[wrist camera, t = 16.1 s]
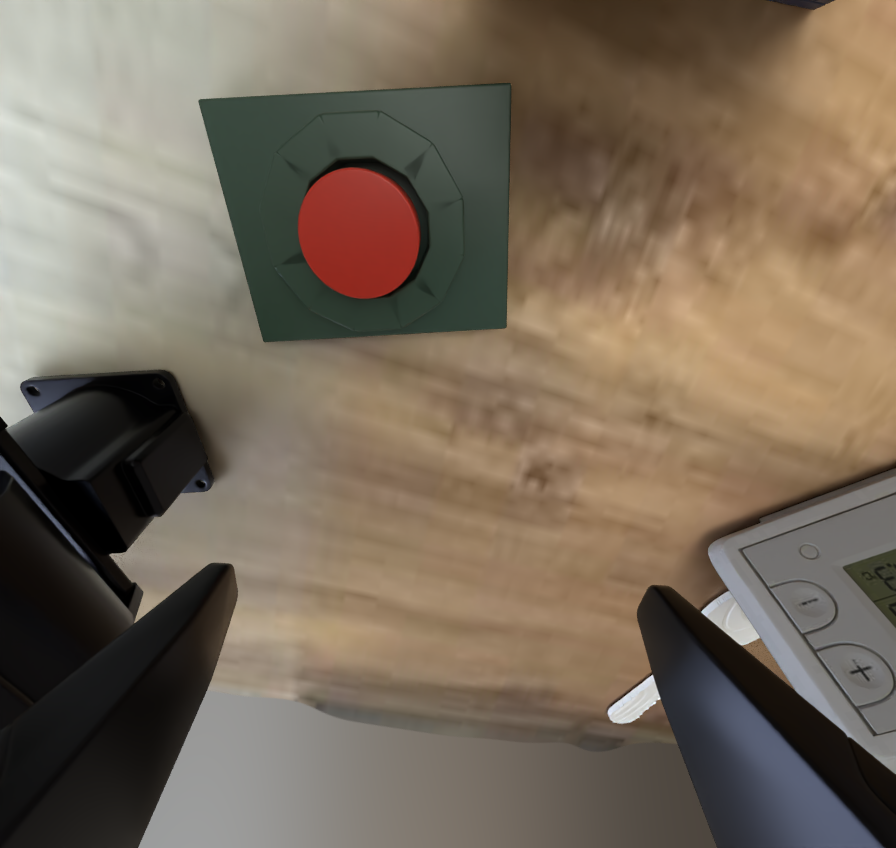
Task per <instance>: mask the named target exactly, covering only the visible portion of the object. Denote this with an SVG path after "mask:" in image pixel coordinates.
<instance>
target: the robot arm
mask: <svg viewBox="0 0 896 848" xmlns="http://www.w3.org/2000/svg"><path fill="white" fill-rule="evenodd" d="M158 379H161V380H162V381H163V382H164V383H165V385H162V384H160V383H159V381H158ZM35 387H36V388H37V389H38V390H39V391H37V390H36V389H35ZM20 388H21V391H22V393H23V395H24V396H25V398H26V400H27V401H28V403H29V405H30V406H31V408H32V410H33V412H34V414H32V415H30V416H28V417H27V418H25V419H23V420H21V421H20V422H18V423H16V424H14V425H13V426H11V427H9V428H7V429H5V428H6V427H7V426H8V425H7V424H6V423H5V422H4V421H3V419H2V418H1V417H0V848H138V847H139V844H140V842H141V840H142V837H143V835H144V833H145V830H146V828H147V826H148V824H149V822H150V819H151V817H152V815H153V812H154V810H155V808H156V805H157V803H158V801H159V799H160V796H161V794H162V792H163V790H164V787H165V785H166V783H167V780H168V778H169V776H170V774H171V771H172V769H173V767H174V764H175V762H176V760H177V758H178V755H179V753H180V751H181V748H182V746H183V744H184V741H185V739H186V737H187V734H188V732H189V730H190V728H191V726H192V723H193V721H194V719H195V716H196V714H197V712H198V710H199V707H200V705H201V703H202V700H203V698H204V696H205V694H206V691H207V689H208V686H209V684H210V681H211V679H212V676H213V673H214V670H215V667H216V664H217V661H218V658H219V655H220V652H221V649H222V646H223V643H224V639H225V636H226V633H227V630H228V627H229V624H230V621H231V618H232V614H233V611H234V608H235V605H236V602H237V597H238V588H237V583H236V577H235V571H234V567H233V565H232V564H229V563H211V564H209V565H207V566H206V567H205V568H203V569H202V570H201V571H200V572H198V573H197V574H196V575H195V576H193V577H192V578H191V579H190V580H188V581H187V582H186V583H185V584H183V585H182V586H181V587H180V588H178V589H177V590H176V591H175V592H173V593H172V594H171V595H170V596H168V597H167V598H166V599H165V600H163V601H162V602H161V603H160V604H158V605H157V606H156V607H155V608H153V609H152V610H151V611H150V612H148V613H147V614H146V615H144V616H143V617H142V618H141V619H139V620H138V621H137V622H136V623H134V621H135V618H136V615H137V612H138V609H139V606H140V602H141V599H142V596H143V591H142V590H141V589H140V587H139V586H138V585H137V584H136V583H132V582H131V581H130V580H129V579H128V577H127V576H126V575H125V574H124V573H123V571H122V570H121V569H120V568H119V566H118V565H117V564H116V563H115V562H114V560H113V559H112V558H111V557H110V555H109V554H111V553H123V552H126V551H127V550H128V548H129V547H130V546H131V545H132V544H133V543H134V541H135V540H136V539H137V538H138V537H139V535H140V534H141V533H142V532H143V531H144V529H145V528H146V527H147V526H148V525H149V523H150V522H151V521H152V520H153V519H154V517H161V516H162V515H163V514H164V513H165V512H166V511H167V509H168V508H169V507H170V506H171V504H172V503H173V502H174V501H175V499H176V498H177V497H178V496H179V495H180V493H190V492H205V491H208V490H209V489H210V488H211V487H212V485H213V484H214V482H215V481H214V477H213V475H212V472H211V469H210V467H209V464H208V462H207V460H208V458H207V455H206V453H205V450H204V448H203V445H202V443H201V440H200V438H199V435H198V433H197V430H196V427H195V425H194V422H193V420H192V417H191V416H190V415H189V414H188V411H187V409H186V406H185V404H184V401H183V399H182V396H181V394H180V391H179V388H178V386H177V383H176V381H175V379H174V377H173V376H172V375H171V374H170V373H169V372H167V371H165V370H147V371H130V372H113V373H96V374H78V375H61V376H44V377H33V378H30V379H28V380H26V381H24V382H22V383H21V386H20ZM200 480H202V481H204V482H205V483H203V482H201V481H200ZM637 619H638V623H639V627H640V630H641V634H642V637H643V641H644V645H645V648H646V652H647V655H648V659H649V663H650V666H651V670H652V673H653V677H654V680H655V684H656V687H657V690H658V693H659V696H660V698H661V701H662V704H663V707H664V709H665V712H666V715H667V717H668V720H669V722H670V725H671V728H672V730H673V733H674V736H675V738H676V741H677V743H678V746H679V749H680V751H681V754H682V757H683V759H684V762H685V764H686V767H687V769H688V772H689V775H690V778H691V780H692V783H693V785H694V788H695V791H696V793H697V796H698V799H699V801H700V804H701V806H702V809H703V812H704V814H705V817H706V820H707V822H708V825H709V828H710V830H711V833H712V835H713V838H714V841H715V843H716V846H717V848H896V774H895V773H893V772H892V771H891V770H890V769H889V768H887V767H886V766H885V765H884V764H882V763H881V762H880V761H879V760H878V759H876V758H875V757H874V756H873V755H871V754H870V753H869V752H868V751H867V750H865V749H864V748H863V747H862V746H861V745H860V744H858V743H857V742H856V741H855V740H854V739H852V738H851V737H847V735H846V733H845V732H844V731H843V730H841V729H840V728H839V727H838V726H837V725H835V724H834V723H833V722H832V721H831V720H829V719H828V718H827V717H826V716H825V715H823V714H822V713H821V712H820V711H819V710H817V709H816V708H815V707H814V706H813V705H811V704H810V703H809V702H808V701H807V700H805V699H804V698H803V697H802V696H801V695H799V694H798V693H797V692H796V691H795V690H794V689H792V688H791V687H790V686H789V685H788V684H786V683H785V682H784V681H783V680H782V679H780V678H779V677H778V676H777V675H776V674H774V673H773V672H772V671H771V670H770V669H768V668H767V667H766V666H765V665H764V664H762V663H761V662H760V661H759V660H758V659H756V658H755V657H754V656H753V655H752V654H750V653H749V652H748V651H747V650H746V649H744V648H743V647H742V646H741V645H740V644H738V643H737V642H736V641H735V640H734V639H732V638H731V637H730V636H729V635H728V634H726V633H725V632H724V631H723V630H722V629H720V628H719V627H718V626H717V625H716V624H714V623H713V622H712V621H711V620H710V619H709V618H707V617H706V616H705V615H704V614H703V613H701V612H700V611H699V610H698V609H697V608H695V607H694V606H693V605H692V604H691V603H689V602H688V601H687V600H686V599H685V598H683V597H682V596H681V595H680V594H679V593H677V592H676V591H675V590H674V589H672V588H671V587H669V586H664V585H651V586H650V587H648V589H647V591H646V593H645V595H644V597H643V599H642V601H641V603H640V604H639V606H638V610H637Z"/></svg>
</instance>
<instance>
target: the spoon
mask: <svg viewBox="0 0 896 848" xmlns="http://www.w3.org/2000/svg"><path fill="white" fill-rule="evenodd" d="M701 613H703V614H704V615H705V616H706V617H707V618H709V619H710V620H711V621H712V622H713V623H714V624H716V625H717V626H718V627H719V628H720V629H722V630H723V631H724V632H725V633H726V634H728V635H729V636H730V637H731V638H732V639H734V640H735V641H736V642H737V643H738V644H740V645H745V644H746V643H747V644H748V643H750V642H751V641H754V640H756V639H757V638H758V639H759V637H760V636H759V635H758V633H757V632H756V630H755V629H754V627H753V626H752V624H751V623H750V621H749V620H748V618H747V617H746V615H745V614H744V612H743V611H742V609H741V608H740V606H739V605H738V603H737V602H736V600H735V599H734V597H733V596H732V594H731V593H730V591H728V592H726V593H724V594H723V595H721V596H719V597H718V598H716V599H715V600H713V601H712V602H711V603H710V604H709V605H708V606H707V607H705V608H704V609H703V610H702V611H701ZM756 641H757V640H756ZM659 699H661V698H660V696H659V693H658V690H657V687H656V684H655V680H654V677H653V675H652V676H650V677H649V678H647V679H646V680H645V681H644V682H643V683H641V684H640V685H639V686H637V687H636V688H634V689H633V690H632V691H631V692H630V693H628V694H627V695H626V696H624V697H623V698H622V699H620V700H619V701H618V702H616V703H615V704H614V705H613V706H612V707H610V708H609V710H608V715H609V717H610V719H611V721H613V723H615V722H617V723H618V724H619V723H621V724H622V723H629V722H631V721H634V720H635V719H636V718H639V715H642V712H644V711H645V710H646V709H649V706H652V705H653V704H656V700H659Z"/></svg>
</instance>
